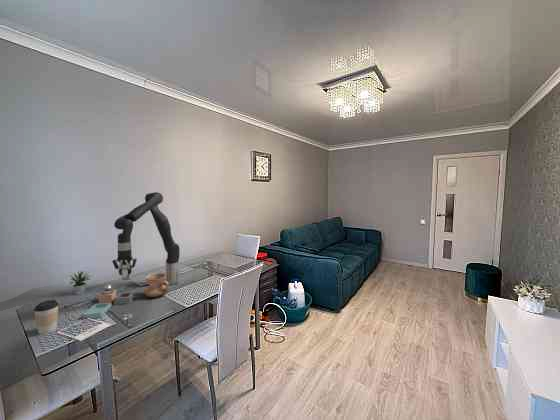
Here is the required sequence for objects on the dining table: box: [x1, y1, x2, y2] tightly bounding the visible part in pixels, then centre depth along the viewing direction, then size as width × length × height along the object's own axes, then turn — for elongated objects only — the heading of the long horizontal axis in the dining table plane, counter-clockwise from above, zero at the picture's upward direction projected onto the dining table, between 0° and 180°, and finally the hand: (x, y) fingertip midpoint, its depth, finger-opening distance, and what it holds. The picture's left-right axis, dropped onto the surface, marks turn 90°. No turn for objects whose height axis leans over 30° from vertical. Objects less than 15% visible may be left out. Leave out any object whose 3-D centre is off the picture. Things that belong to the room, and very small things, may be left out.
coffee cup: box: [33, 299, 60, 335], centre depth 119 cm, size 9×9×15 cm
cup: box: [98, 289, 117, 304], centre depth 152 cm, size 7×7×6 cm
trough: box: [82, 302, 112, 320], centre depth 138 cm, size 9×13×3 cm
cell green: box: [120, 264, 130, 281], centre depth 151 cm, size 4×4×11 cm
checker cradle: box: [113, 291, 136, 306], centre depth 154 cm, size 9×13×5 cm
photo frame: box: [56, 318, 111, 342], centre depth 121 cm, size 15×1×18 cm
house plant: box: [66, 270, 94, 295], centre depth 162 cm, size 14×14×16 cm
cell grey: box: [103, 283, 113, 295], centre depth 152 cm, size 4×4×11 cm
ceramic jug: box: [144, 272, 170, 298], centre depth 163 cm, size 18×14×14 cm
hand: (125, 274), depth 151 cm, fingers closed on cell green, 4 cm apart
